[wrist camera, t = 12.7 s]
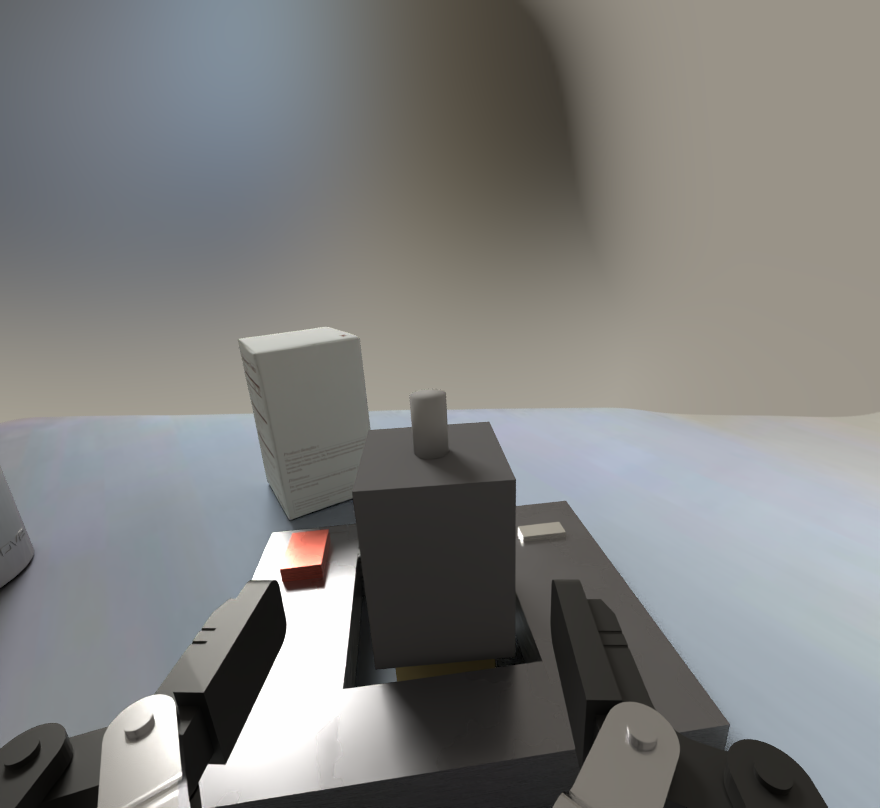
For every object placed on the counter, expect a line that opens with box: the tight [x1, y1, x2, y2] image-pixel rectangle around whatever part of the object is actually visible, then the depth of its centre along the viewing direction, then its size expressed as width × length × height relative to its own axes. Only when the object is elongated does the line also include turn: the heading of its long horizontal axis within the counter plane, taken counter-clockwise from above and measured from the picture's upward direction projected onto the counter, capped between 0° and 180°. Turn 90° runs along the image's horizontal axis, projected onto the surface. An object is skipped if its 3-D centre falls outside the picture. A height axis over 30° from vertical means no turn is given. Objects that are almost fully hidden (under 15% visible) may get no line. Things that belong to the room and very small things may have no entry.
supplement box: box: [238, 327, 370, 520], centre depth 34 cm, size 7×7×13 cm
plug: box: [352, 389, 516, 682], centre depth 19 cm, size 6×6×13 cm
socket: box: [200, 501, 730, 808], centre depth 20 cm, size 18×14×3 cm
